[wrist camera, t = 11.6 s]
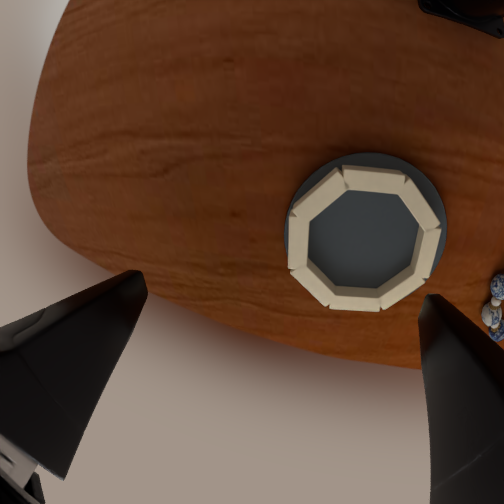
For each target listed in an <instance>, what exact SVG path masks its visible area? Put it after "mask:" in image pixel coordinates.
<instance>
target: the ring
mask: <svg viewBox="0 0 504 504" xmlns="http://www.w3.org/2000/svg"><path fill="white" fill-rule="evenodd" d="M347 190H357V191H369V192H379V193H389V194H398V195H399V197H400V198H401V199H402V201H403V202H404V203H405V205H406V206H407V208H408V209H409V210H410V212H411V213H412V215H413V216H414V217H415V219H416V220H417V222H418V223H419V229H418V233H417V238H416V243H415V247H414V252H413V256H412V260H411V264H410V265H409V266H408V267H407V268H405V269H404V270H402V271H401V272H400V273H398V274H397V275H395V276H394V277H393V278H391V279H390V280H388V281H387V282H385V283H384V284H382V285H381V286H379V287H378V288H361V287H346V286H335V285H334V284H333V283H332V282H331V281H330V280H329V279H328V277H327V276H326V275H325V274H324V273H323V272H322V271H321V270H320V269H319V268H318V267H317V266H316V265H315V264H314V263H313V262H312V261H311V260H310V259H309V258H308V244H309V225H310V221H311V220H312V219H313V218H314V217H316V216H317V215H318V214H319V213H320V212H322V211H323V210H324V209H325V208H326V207H328V206H329V205H330V204H331V203H332V202H334V201H335V200H336V199H337V198H338V197H340V196H341V195H342V194H343V193H344V192H346V191H347ZM439 225H440V221H439V220H438V218H437V217H436V215H435V213H434V212H433V210H432V209H431V207H430V206H429V204H428V203H427V201H426V200H425V198H424V197H423V195H422V194H421V192H420V191H419V189H418V188H417V187H416V185H415V184H414V182H413V181H412V180H411V178H410V177H408V176H407V175H406V174H403V173H402V172H401V171H400V170H392V169H383V168H374V167H364V166H352V165H342V172H341V171H340V170H339V169H338V168H337V167H336V168H334V169H333V170H332V171H331V172H330V173H329V174H328V175H326V176H325V177H324V178H323V179H322V180H321V181H320V182H318V183H317V184H316V185H315V186H314V187H313V188H312V189H310V190H309V191H308V192H307V193H306V194H305V195H304V196H302V197H301V198H300V199H299V200H298V201H297V202H296V203H294V205H293V209H291V211H290V215H289V243H288V269H291V271H290V274H291V275H292V276H293V277H295V278H296V279H297V280H298V281H299V282H300V283H301V284H302V285H303V286H304V287H305V288H306V289H307V290H308V291H309V292H310V293H311V294H312V295H313V296H314V297H315V298H316V299H317V300H318V301H320V302H321V303H322V304H323V305H324V306H325V307H326V306H327V305H329V304H330V307H329V308H330V309H341V310H357V311H374V312H379V310H380V307H381V308H382V309H383V310H385V309H387V308H388V307H390V306H391V305H393V304H394V303H396V302H397V301H399V300H400V299H402V298H403V297H405V296H406V295H408V294H409V293H411V292H412V291H414V290H415V289H417V288H418V287H420V286H421V285H422V284H424V283H425V280H424V278H429V275H430V272H431V268H432V265H433V261H434V257H435V254H436V250H437V246H438V242H439V238H440V234H441V228H440V227H439Z"/></svg>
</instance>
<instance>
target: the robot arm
mask: <svg viewBox="0 0 504 504" xmlns="http://www.w3.org/2000/svg"><path fill="white" fill-rule="evenodd" d="M424 3H426V4H427V5H428V6H429V7H430V9H428V8H426V7H425V5H424ZM418 5H419V8H420V9H421V10H422V11H423V12H425V13H427V14H431V15H435V16H438V17H442V18H445V19H448V20H451V21H454V22H457V23H460V24H463V25H466V26H469V27H471V28H474V29H476V30H479V31H482V32H484V33H486V34H489V35H491V36H493V37H496V38H498V39H501V38H504V23H503V17H504V0H418ZM497 30H498V31H499V33H500V34H499V33H498V32H497ZM147 296H148V290H147V287H146V283H145V280H144V276H143V273H142V272H141V271H139V270H128V271H126V272H123V273H121V274H119V275H117V276H114V277H112V278H110V279H107V280H105V281H103V282H101V283H99V284H96V285H94V286H92V287H89V288H87V289H85V290H83V291H81V292H78V293H76V294H74V295H72V296H70V297H68V298H65V299H63V300H61V301H59V302H57V303H54V304H52V305H50V306H48V307H46V308H44V309H41V310H39V311H37V312H35V313H33V314H31V315H28V316H26V317H24V318H22V319H19V320H17V321H15V322H12V323H10V324H7V325H5V326H3V327H0V504H45V500H44V496H43V491H42V488H41V483H40V478H39V475H38V474H37V473H36V472H34V470H35V469H36V467H37V465H38V464H39V465H40V466H41V467H43V468H44V469H46V470H47V471H49V472H50V473H51V474H53V475H55V476H56V477H58V478H59V479H61V480H62V481H64V479H65V477H66V475H67V473H68V470H69V467H70V465H71V462H72V460H73V457H74V455H75V453H76V450H77V448H78V445H79V443H80V441H81V439H82V436H83V434H84V431H85V429H86V427H87V425H88V422H89V420H90V418H91V416H92V413H93V411H94V409H95V407H96V405H97V403H98V401H99V399H100V396H101V394H102V392H103V390H104V388H105V386H106V384H107V382H108V380H109V378H110V376H111V374H112V372H113V370H114V368H115V366H116V364H117V362H118V360H119V358H120V356H121V354H122V352H123V350H124V348H125V346H126V344H127V342H128V341H129V339H130V337H131V335H132V332H133V330H134V328H135V325H136V323H137V321H138V318H139V316H140V313H141V311H142V308H143V306H144V304H145V302H146V299H147ZM418 326H419V337H420V351H421V365H422V373H423V379H424V387H425V394H426V403H427V411H428V423H429V435H430V436H429V437H430V459H431V489H430V490H431V492H430V504H504V350H503V349H502V348H501V347H500V346H499V345H498V344H497V343H496V342H495V341H494V340H492V339H491V338H490V337H489V336H488V335H487V334H486V333H485V332H484V331H482V330H481V329H480V328H479V327H478V326H477V325H476V324H474V323H473V322H472V321H471V320H470V319H469V318H468V317H466V316H465V315H464V314H463V313H462V312H460V311H459V310H458V309H457V308H456V307H455V306H453V305H452V304H451V303H450V302H448V301H447V300H446V299H445V298H444V297H442V296H441V295H440V294H427V295H426V297H425V299H424V302H423V305H422V308H421V311H420V314H419V317H418Z"/></svg>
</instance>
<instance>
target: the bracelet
mask: <svg viewBox="0 0 504 504" xmlns="http://www.w3.org/2000/svg"><path fill="white" fill-rule="evenodd" d="M490 289H491V292H492V295H493V297H492V299H491V302H489V303H487V304H486V305H485V306H484V307H483V310H482V314H481V315H482V320H483V322H484V323H485V324H486V325H487V326H490V327H489V335H490V337H491V338H492V340H494V341H497V342H498V341H501V340H502V339H504V320H502V319H501V317H502V309H501V307H500V303H501V300H503V299H504V274H498V275H496V276H495V277H494V278H493V280H492V282H491V286H490Z"/></svg>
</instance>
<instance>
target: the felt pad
mask: <svg viewBox="0 0 504 504" xmlns="http://www.w3.org/2000/svg"><path fill="white" fill-rule="evenodd" d="M342 165H352V166H364V167H374V168H383V169H392V170H400V171H401V172H402V173H403V174H406V175H407V176H408V177H410V178H411V180H412V181H413V182H414V184H415V185H416V187H417V188H418V189H419V191H420V192H421V194H422V195H423V197H424V198H425V200H426V201H427V203H428V204H429V206H430V207H431V209H432V210H433V212H434V213H435V215H436V217H437V218H438V220H439V221H440V225H439V227H440V228H441V234H440V238H439V242H438V246H437V250H436V254H435V257H434V261H433V265H432V268H431V272H430V275H431V274H432V273H433V271H434V269H435V268H436V266H437V264H438V262H439V260H440V258H441V256H442V253H443V250H444V247H445V242H446V235H447V221H446V214H445V209H444V206H443V203H442V200H441V198H440V196H439V194H438V192H437V190H436V188H435V187H434V186H433V184H432V183H431V182H430V180H429V179H428V178H427V177H426V176H425V175H424V174H423V173H422V172H421V171H419V170H418V169H417V168H415V167H414V166H413V165H411V164H410V163H408V162H406V161H404V160H402V159H400V158H397V157H394V156H391V155H387V154H382V153H371V152H365V153H355V154H351V155H346V156H343V157H340V158H338V159H335V160H333V161H331V162H329V163H327V164H325V165H324V166H322V167H320V168H319V169H318V170H317V171H315V172H314V173H313V174H312V175H311V176H310V177H309V178H308V179H307V180H306V181H305V182H304V183H303V184H302V185H301V187H300V188H299V189H298V191H297V192H296V194H295V196H294V198H293V200H292V202H291V204H290V207H289V210H288V213H287V217H286V221H285V229H284V241H285V248H286V253H287V256H288V243H289V215H290V211H291V209H293V205H294V203H296V202H297V201H298V200H299V199H300V198H301V197H302V196H304V195H305V194H306V193H307V192H308V191H309V190H310V189H312V188H313V187H314V186H315V185H316V184H317V183H318V182H320V181H321V180H322V179H323V178H324V177H325V176H326V175H328V174H329V173H330V172H331V171H332V170H333V169H334V168H336V167H337V168H338V169H339V170H340V171H341V172H342ZM418 229H419V223H418V222H417V220H416V219H415V217H414V216H413V215H412V213H411V212H410V210H409V209H408V208H407V206H406V205H405V203H404V202H403V201H402V199H401V198H400V197H399V195H398V194H389V193H379V192H369V191H357V190H347V191H346V192H344V193H343V194H342V195H341V196H340V197H338V198H337V199H336V200H335V201H334V202H332V203H331V204H330V205H329V206H328V207H326V208H325V209H324V210H323V211H322V212H320V213H319V214H318V215H317V216H316V217H314V218H313V219H312V220H311V221H310V225H309V244H308V258H309V259H310V260H311V261H312V262H313V263H314V264H315V265H316V266H317V267H318V268H319V269H320V270H321V271H322V272H323V273H324V274H325V275H326V276H327V277H328V279H329V280H330V281H331V282H332V283H333V284H334V285H335V286H346V287H361V288H378V287H379V286H381V285H382V284H384V283H385V282H387V281H388V280H390V279H391V278H393V277H394V276H395V275H397V274H398V273H400V272H401V271H402V270H404V269H405V268H407V267H408V266H409V265H410V264H411V260H412V256H413V252H414V247H415V243H416V238H417V233H418ZM430 275H429V276H430ZM427 279H428V278H424V280H425V281H426V280H427ZM418 288H419V287H418ZM418 288H417V289H418ZM415 290H416V289H415ZM415 290H414V291H415ZM414 291H412V292H414ZM412 292H411V293H412ZM411 293H409V294H408V295H410V294H411ZM408 295H406V296H408ZM406 296H405V297H406ZM405 297H403V298H405ZM403 298H402V299H403ZM400 300H401V299H400Z"/></svg>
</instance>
